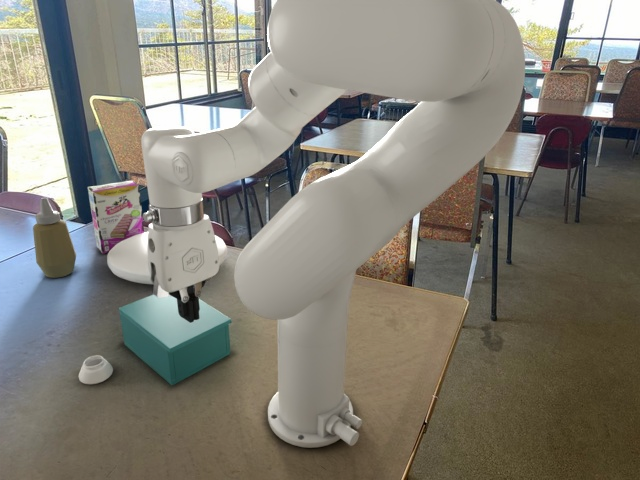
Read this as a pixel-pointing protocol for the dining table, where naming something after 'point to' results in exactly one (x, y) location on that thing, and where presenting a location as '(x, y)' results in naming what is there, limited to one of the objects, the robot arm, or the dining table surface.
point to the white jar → (95, 370)
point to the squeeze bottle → (53, 243)
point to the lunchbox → (176, 352)
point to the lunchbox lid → (172, 321)
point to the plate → (141, 258)
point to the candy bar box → (115, 213)
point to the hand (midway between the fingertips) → (190, 317)
